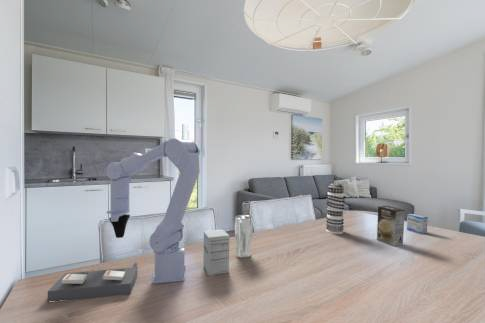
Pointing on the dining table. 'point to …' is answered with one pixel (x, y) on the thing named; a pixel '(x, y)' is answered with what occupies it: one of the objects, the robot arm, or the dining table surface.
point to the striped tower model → (335, 208)
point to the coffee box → (390, 225)
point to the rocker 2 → (114, 275)
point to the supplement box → (216, 252)
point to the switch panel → (94, 285)
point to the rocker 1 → (74, 278)
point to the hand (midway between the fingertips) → (119, 237)
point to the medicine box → (417, 223)
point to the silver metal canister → (243, 235)
